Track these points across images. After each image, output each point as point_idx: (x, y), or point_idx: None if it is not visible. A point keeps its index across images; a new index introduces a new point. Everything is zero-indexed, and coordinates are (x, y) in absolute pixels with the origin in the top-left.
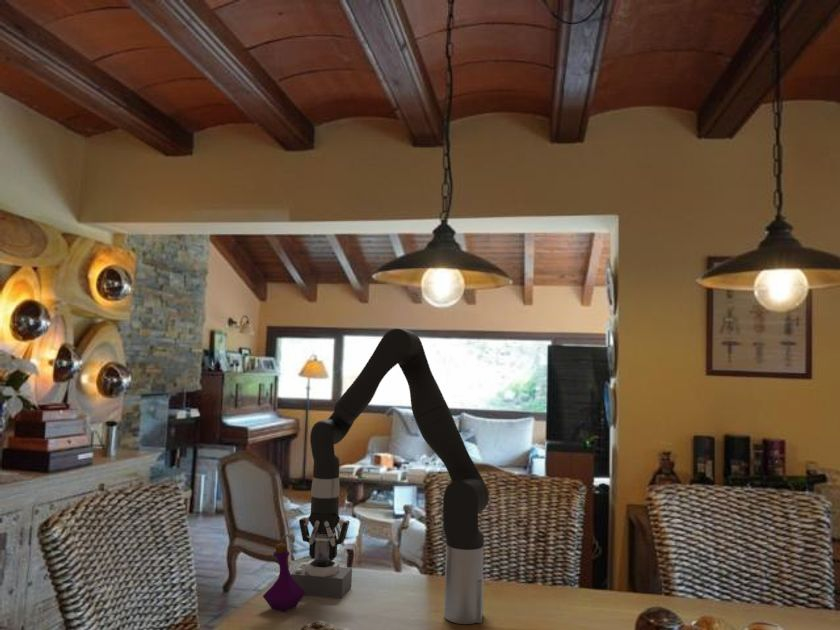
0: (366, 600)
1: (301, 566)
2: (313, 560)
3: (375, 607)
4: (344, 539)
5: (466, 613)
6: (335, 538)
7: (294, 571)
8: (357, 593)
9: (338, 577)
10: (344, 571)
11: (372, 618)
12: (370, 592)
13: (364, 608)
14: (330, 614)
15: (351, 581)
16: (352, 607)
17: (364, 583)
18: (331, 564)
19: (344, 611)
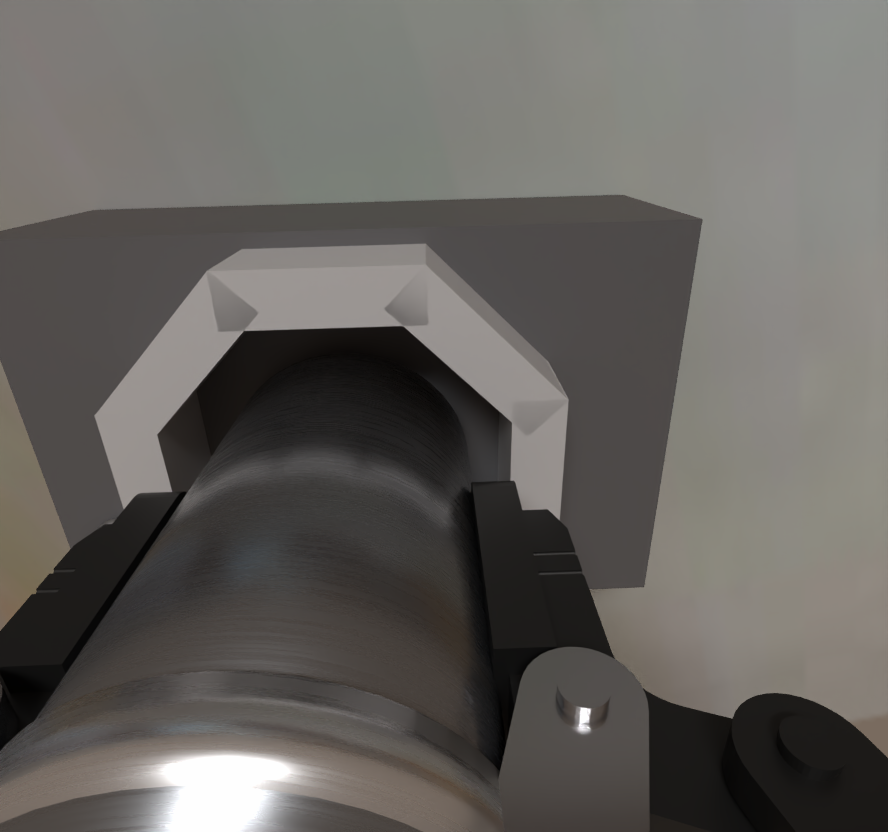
0: (789, 462)
1: (16, 355)
2: (153, 413)
3: (855, 555)
4: (886, 777)
5: None
6: (602, 824)
7: (66, 534)
8: (703, 343)
9: (595, 566)
10: (622, 380)
11: (831, 688)
12: (821, 287)
13: (779, 586)
14: None
15: (640, 201)
16: (696, 591)
17: (751, 28)
18: (470, 473)
19: (654, 651)
